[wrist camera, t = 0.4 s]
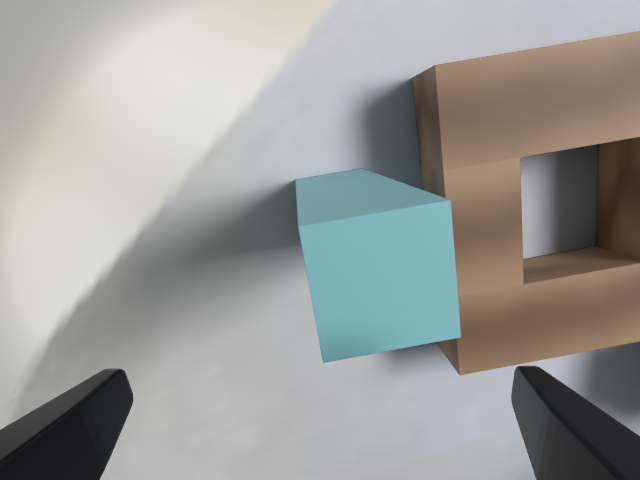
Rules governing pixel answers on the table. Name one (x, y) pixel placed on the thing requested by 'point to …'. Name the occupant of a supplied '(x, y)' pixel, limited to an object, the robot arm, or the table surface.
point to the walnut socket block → (505, 196)
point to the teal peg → (377, 263)
